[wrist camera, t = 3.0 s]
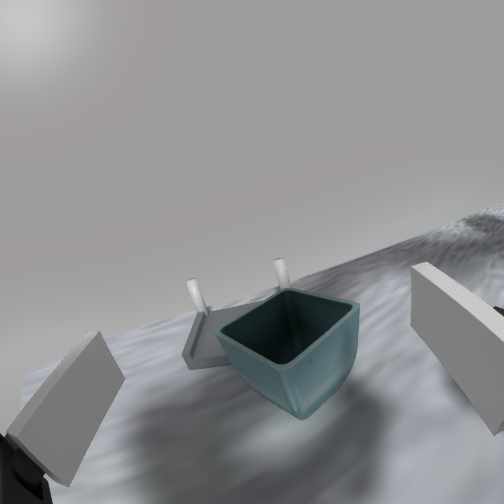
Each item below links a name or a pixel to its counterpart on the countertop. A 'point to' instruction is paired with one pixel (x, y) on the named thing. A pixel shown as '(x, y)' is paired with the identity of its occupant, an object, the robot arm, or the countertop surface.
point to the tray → (216, 325)
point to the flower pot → (294, 348)
